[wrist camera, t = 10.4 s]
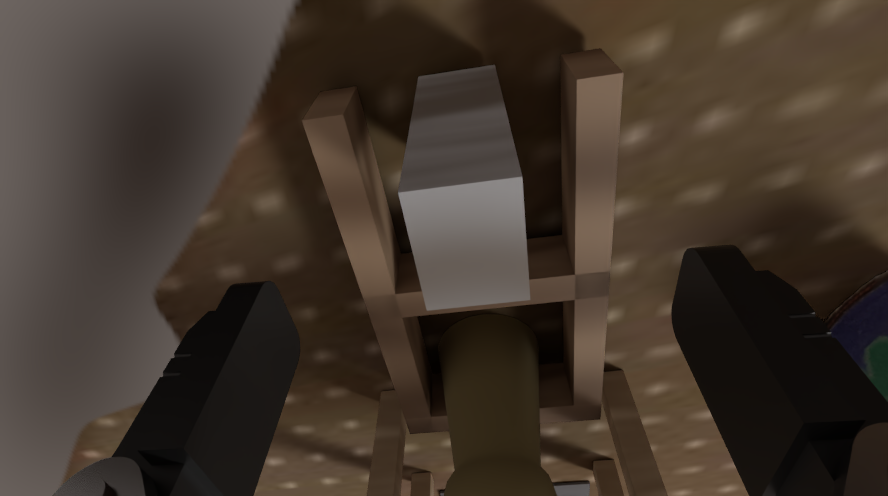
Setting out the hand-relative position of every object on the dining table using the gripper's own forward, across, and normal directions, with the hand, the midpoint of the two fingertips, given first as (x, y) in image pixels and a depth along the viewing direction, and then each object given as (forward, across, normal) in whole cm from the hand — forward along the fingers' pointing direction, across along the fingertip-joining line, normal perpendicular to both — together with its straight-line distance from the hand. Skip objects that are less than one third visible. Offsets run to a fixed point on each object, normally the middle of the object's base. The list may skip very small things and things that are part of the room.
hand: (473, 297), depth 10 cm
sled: (+12, 0, +9) cm, 15 cm away
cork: (+12, 0, +16) cm, 20 cm away
